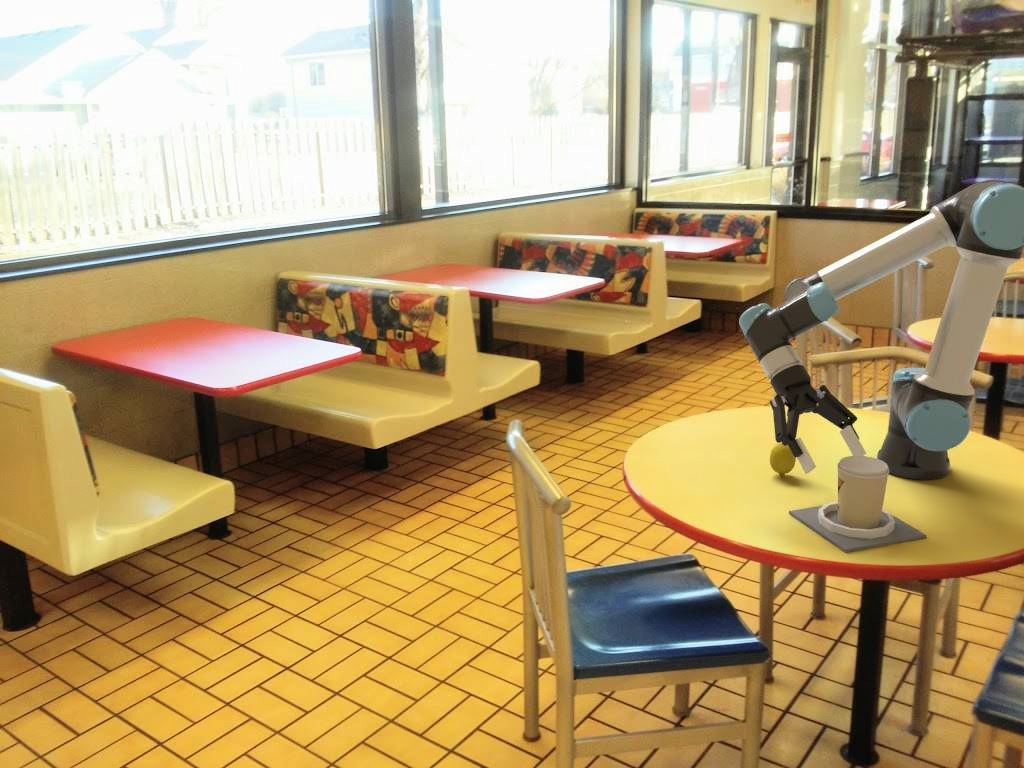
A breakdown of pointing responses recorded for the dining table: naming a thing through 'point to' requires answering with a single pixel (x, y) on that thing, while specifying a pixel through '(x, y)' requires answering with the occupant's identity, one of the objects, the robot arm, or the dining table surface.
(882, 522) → the cup tray
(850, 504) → the coffee cup
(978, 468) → the dining table surface
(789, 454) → the lemon
